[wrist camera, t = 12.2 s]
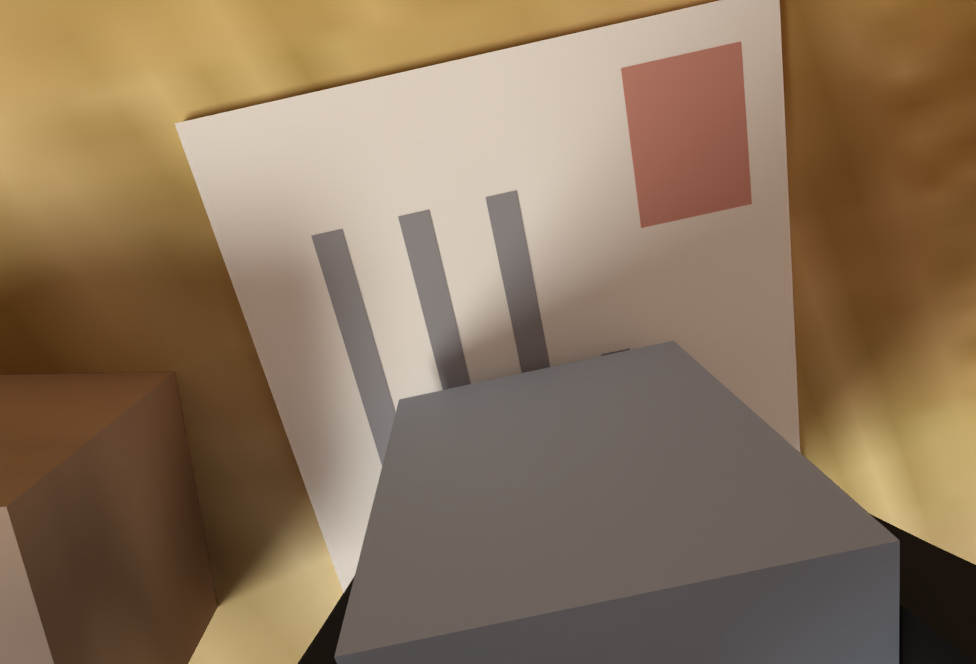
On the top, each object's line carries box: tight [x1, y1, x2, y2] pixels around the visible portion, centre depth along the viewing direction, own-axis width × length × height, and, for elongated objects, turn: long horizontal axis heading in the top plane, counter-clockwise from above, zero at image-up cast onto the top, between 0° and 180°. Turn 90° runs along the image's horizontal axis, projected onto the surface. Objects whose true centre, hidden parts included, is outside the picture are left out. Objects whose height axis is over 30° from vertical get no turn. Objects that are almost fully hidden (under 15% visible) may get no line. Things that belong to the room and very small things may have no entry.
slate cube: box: [334, 341, 900, 664], centre depth 8 cm, size 4×4×5 cm
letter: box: [175, 0, 800, 593], centre depth 10 cm, size 12×9×1 cm
